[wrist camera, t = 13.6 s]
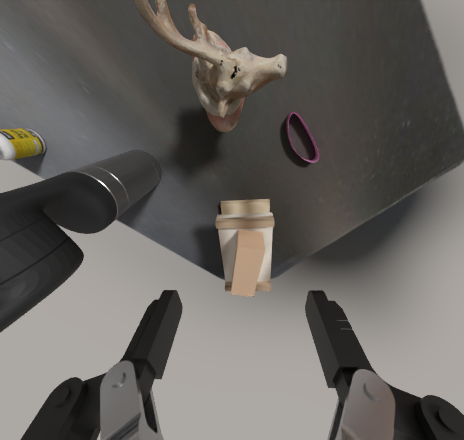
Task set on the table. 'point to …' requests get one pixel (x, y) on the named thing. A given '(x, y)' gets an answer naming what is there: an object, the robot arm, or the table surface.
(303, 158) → the headband
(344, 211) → the table surface
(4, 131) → the supplement bottle
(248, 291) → the tan block
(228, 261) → the display stand
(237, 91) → the decorative bust
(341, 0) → the table surface
